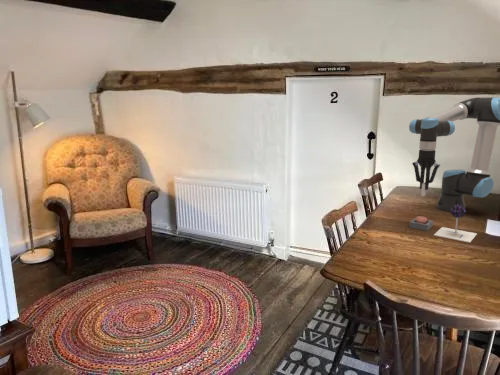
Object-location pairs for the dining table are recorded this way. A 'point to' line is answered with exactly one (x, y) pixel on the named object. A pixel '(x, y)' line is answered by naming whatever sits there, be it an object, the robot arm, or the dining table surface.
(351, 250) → the dining table surface
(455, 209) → the lollipop
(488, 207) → the dining table surface
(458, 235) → the paper pad
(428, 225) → the button housing
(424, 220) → the button
